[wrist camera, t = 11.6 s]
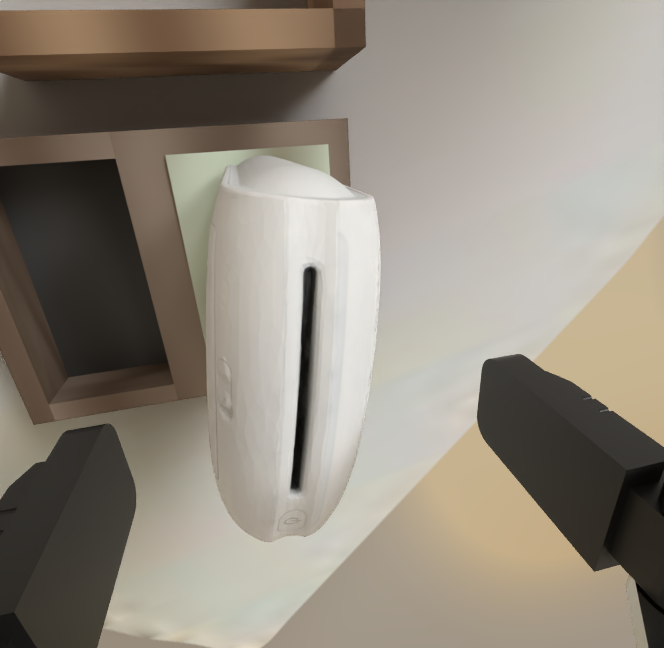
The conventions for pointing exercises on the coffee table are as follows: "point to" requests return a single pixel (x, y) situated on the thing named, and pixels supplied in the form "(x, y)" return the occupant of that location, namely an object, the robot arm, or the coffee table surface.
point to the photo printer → (288, 341)
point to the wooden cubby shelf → (179, 41)
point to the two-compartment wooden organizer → (122, 256)
